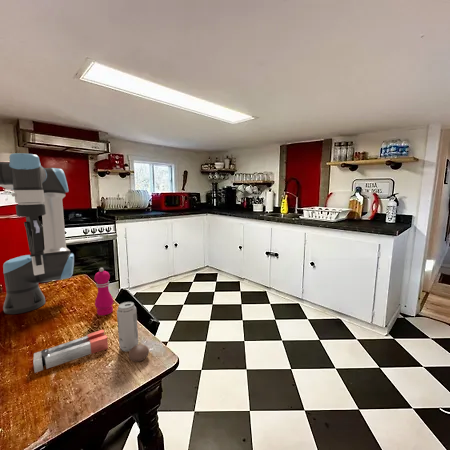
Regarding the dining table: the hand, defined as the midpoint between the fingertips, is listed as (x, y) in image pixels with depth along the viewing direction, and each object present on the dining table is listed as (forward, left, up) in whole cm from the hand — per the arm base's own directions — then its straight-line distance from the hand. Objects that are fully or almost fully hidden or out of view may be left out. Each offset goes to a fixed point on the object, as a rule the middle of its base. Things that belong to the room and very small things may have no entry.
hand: (39, 273), depth 85 cm
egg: (+27, +24, -25) cm, 44 cm away
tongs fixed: (+13, +7, -25) cm, 29 cm away
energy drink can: (+19, +23, -25) cm, 39 cm away
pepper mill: (-13, +21, -25) cm, 35 cm away
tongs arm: (+11, +9, -25) cm, 29 cm away
